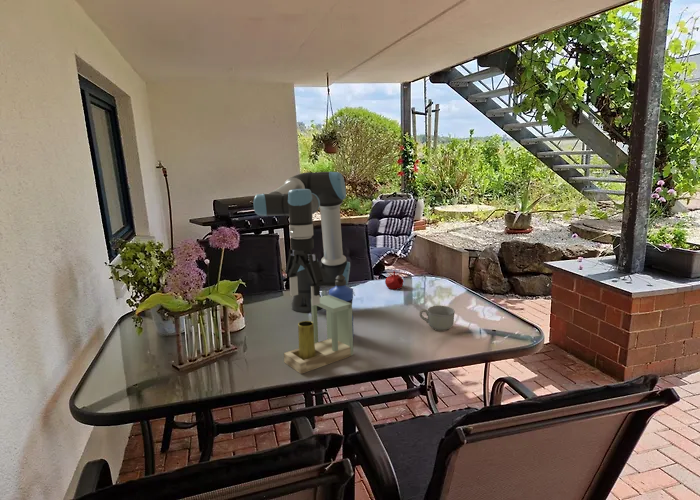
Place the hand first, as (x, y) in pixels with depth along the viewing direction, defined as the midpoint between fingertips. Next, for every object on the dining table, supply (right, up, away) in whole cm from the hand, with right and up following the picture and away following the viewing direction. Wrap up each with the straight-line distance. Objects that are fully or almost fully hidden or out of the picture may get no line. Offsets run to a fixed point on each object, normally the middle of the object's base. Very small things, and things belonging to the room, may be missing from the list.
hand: (304, 299), depth 147 cm
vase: (+1, -22, +4) cm, 23 cm away
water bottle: (+12, -18, +27) cm, 34 cm away
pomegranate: (+39, -4, +92) cm, 100 cm away
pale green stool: (+9, -20, +13) cm, 26 cm away
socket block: (+4, -22, +7) cm, 23 cm away
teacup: (+51, -15, +33) cm, 63 cm away
